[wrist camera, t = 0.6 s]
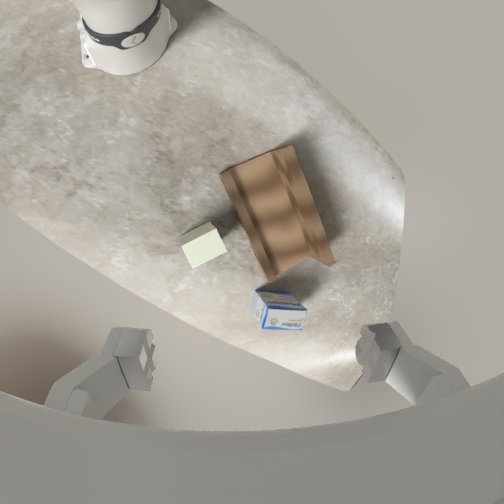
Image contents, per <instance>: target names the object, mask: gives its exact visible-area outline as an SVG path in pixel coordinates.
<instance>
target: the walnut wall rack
mask: <svg viewBox="0 0 504 504" xmlns="http://www.w3.org/2000/svg"><path fill="white" fill-rule="evenodd" d="M219 175H220V178H221V180H222V182H223V184H224V186H225V189H226V191H227V193H228V195H229V198H230V200H231V202H232V204H233V207H234V209H235V211H236V213H237V215H238V218H239V220H240V222H241V224H242V227H243V229H244V231H245V233H246V235H247V238H248V240H249V242H250V244H251V247H252V249H253V251H254V253H255V256H256V258H257V260H258V262H259V264H260V267H261V269H262V271H263V273H264V276H265V278H266V279H267V280H268V282H269V283H271V282H273V281H275V280H277V278H276V276H277V275H279V274H281V273H283V272H285V271H286V270H288V269H290V268H292V267H294V266H296V265H298V264H299V263H301V262H303V261H305V260H307V259H309V258H310V257H312V258H314V259H316V260H318V261H319V262H321V263H323V264H325V265H326V266H328V267H329V266H331V265H333V264H334V263H335V260H334V257H333V254H332V251H331V248H330V245H329V242H328V239H327V236H326V233H325V230H324V228H323V225H322V222H321V219H320V216H319V213H318V211H317V208H316V205H315V202H314V200H313V197H312V194H311V191H310V189H309V186H308V183H307V181H306V178H305V176H304V173H303V170H302V168H301V165H300V163H299V160H298V158H297V155H296V153H295V150H294V148H293V146H292V145H291V146H287V147H283V148H279V149H275V150H273V151H270V152H268V153H266V154H263V155H261V156H258V157H256V158H254V159H251V160H249V161H247V162H244V163H242V164H240V165H237V166H235V167H233V168H231V169H228V170H226V171H224V172H222V173H220V174H219Z"/></svg>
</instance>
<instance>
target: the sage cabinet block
mask: <svg viewBox="0 0 504 504" xmlns="http://www.w3.org/2000/svg"><path fill="white" fill-rule="evenodd" d="M180 243H181V247H182V249H183V251H184V253H185V255H186V257H187V259H188V261H189V263H190V264H191V266H192V268H195V267H197V266H199V265H201V264H203V263H205V262H207V261H209V260H211V259H213V258H215V257H216V256H218V255H220V254H222V253H224V252H226V251H227V250H226V248H225V246H224V244H223V242H222V240H221V238H220V235H219V233H218V231H217V229H216V228H215V227H214V226H213V224H212V223H211V222H210V221H209V222H207V223H205V224H203V225H201V226H199V227H197V228H195V229H193V230H191V231H189V232H187V233H185V234H183V235H181V236H180Z"/></svg>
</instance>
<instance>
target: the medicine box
mask: <svg viewBox="0 0 504 504" xmlns="http://www.w3.org/2000/svg"><path fill="white" fill-rule="evenodd" d="M251 311H252V313H253V314H254V316H255V317H256V319H257V321H258V322H259V324H260V325H261V327H262V329H275V330H302V328H303V324H304V321H305V317H306V313H307V309H306V308H305V307H304V306H303V305H302V304H301V303H300V302H299V301H298V300H297V299H296V298H295V297H294V296H293V295H292V294H291V293H282V292H269V291H255V293H254V298H253V302H252V307H251Z"/></svg>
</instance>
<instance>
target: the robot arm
mask: <svg viewBox="0 0 504 504" xmlns="http://www.w3.org/2000/svg"><path fill="white" fill-rule="evenodd" d="M68 1H70V2H71V3H73V4H74V5H75V7H76V8H77V9H78V11H79V12H80V20H78V21H77V27H78V30H79V31H80V32H81V34H80V38H81V50H82V62H83V65H84V67H85V68H98V69H101V70H103V71H105V72H107V73H110V74H114V75H129V74H134V73H137V72H140V71H142V70H144V69H146V68H148V67H149V66H151V65H152V64H153V63H155V62H156V61H157V60H158V59H159V58H160V57H161V55H162V54H163V52H164V51H165V49H166V46H167V43H168V40H169V38H170V36H171V35H172V34H173V33H174V32H175V31H176V29H177V27H178V24H177V21H176V20H175V19H174V18H173V17H172V15H171V14H170V13H169V9H168V8H166V7H165V6H164V5H163V4H162V0H68ZM87 56H89V58H87ZM360 334H361V336H362V337H361V338H360V339H359V340H358V341H357V344H356V358H357V361H358V363H359V364H361V365H362V366H364V367H363V369H362V372H363V375H364V377H365V379H366V381H367V383H369V382H376V381H382V380H385V381H386V382H387V383H388V384H390V385H391V386H392V387H393V388H394V389H396V390H397V391H398V392H399V393H400V394H402V395H403V396H404V397H405V398H407V399H408V400H409V401H410V402H412V404H414V405H415V406H413V407H409V408H405V409H401V410H397V411H393V412H389V413H385V414H380V415H376V416H371V417H367V418H362V419H357V420H351V421H345V422H339V423H333V424H326V425H319V426H311V427H302V428H292V429H279V430H265V431H264V430H263V431H190V430H176V429H164V428H153V427H145V426H137V425H130V424H123V423H117V422H111V421H105V420H104V419H103V418H102V417H103V416H104V415H105V414H106V413H107V412H108V411H109V410H110V409H111V408H112V407H113V406H114V405H115V404H116V403H117V402H118V401H119V400H120V399H121V398H122V397H123V396H124V395H125V394H126V393H127V392H128V391H129V389H132V390H145V391H150V389H151V384H152V380H153V376H152V373H151V372H152V371H153V370H155V367H156V360H157V355H156V348H155V345H153V344H152V339H153V335H152V332H151V330H150V329H138V328H124V327H113V328H112V329H111V331H110V333H109V335H108V337H107V340H106V342H105V344H104V346H103V348H102V350H101V353H100V355H98V354H96V355H95V356H93V357H92V358H90V359H89V360H87V361H86V362H84V363H83V364H81V365H80V366H78V367H77V368H75V369H74V370H72V371H71V372H70V373H68V374H66V375H65V376H64V377H62V378H61V379H59V380H58V381H56V382H55V383H54V384H53V386H52V388H51V390H50V392H49V395H48V397H47V399H46V401H45V403H44V405H43V406H42V405H39V404H36V403H33V402H29V401H26V400H23V399H20V398H17V397H15V396H12V395H9V394H6V393H4V392H1V391H0V504H504V373H502V374H500V375H498V376H496V377H494V378H491V379H489V380H487V381H485V382H482V383H480V384H477V385H475V386H472V387H471V386H470V385H469V383H468V382H467V381H466V379H465V377H464V376H463V374H462V373H461V372H460V370H459V369H458V368H457V367H455V366H453V365H451V364H450V363H448V362H446V361H444V360H442V359H440V358H439V357H437V356H435V355H433V354H432V353H430V352H428V351H426V350H424V349H423V348H421V347H419V346H417V345H415V346H414V345H413V343H412V342H411V340H410V339H409V337H408V336H407V335H406V333H405V331H404V330H403V329H402V327H401V326H400V324H399V323H398V322H397V321H392V322H385V323H377V324H368V325H363V327H362V328H361V331H360Z"/></svg>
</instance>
